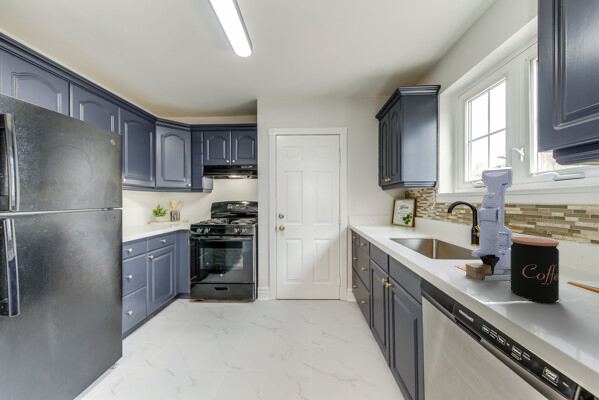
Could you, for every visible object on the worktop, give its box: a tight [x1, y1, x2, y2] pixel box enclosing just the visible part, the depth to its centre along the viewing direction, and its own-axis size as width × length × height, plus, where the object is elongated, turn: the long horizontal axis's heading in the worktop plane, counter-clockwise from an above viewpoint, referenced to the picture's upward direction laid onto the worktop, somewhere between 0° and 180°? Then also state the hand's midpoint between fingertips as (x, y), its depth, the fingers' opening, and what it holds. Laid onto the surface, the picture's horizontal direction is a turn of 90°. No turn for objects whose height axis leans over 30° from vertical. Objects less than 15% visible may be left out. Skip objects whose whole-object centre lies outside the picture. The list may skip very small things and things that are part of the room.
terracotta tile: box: [454, 264, 466, 272], centre depth 101 cm, size 8×7×1 cm
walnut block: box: [465, 262, 492, 280], centre depth 90 cm, size 6×5×4 cm
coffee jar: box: [510, 236, 560, 305], centre depth 73 cm, size 11×11×18 cm
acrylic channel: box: [482, 269, 511, 281], centre depth 90 cm, size 14×7×2 cm, turn 94°
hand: (489, 274), depth 90 cm, fingers closed, pressing on walnut block
